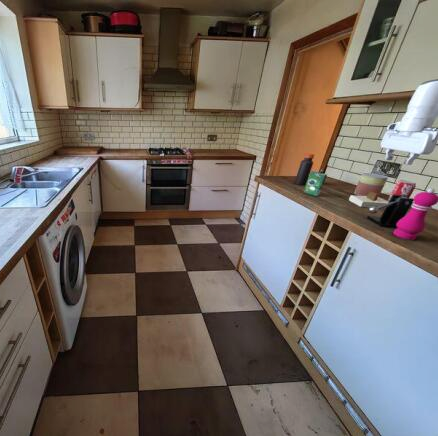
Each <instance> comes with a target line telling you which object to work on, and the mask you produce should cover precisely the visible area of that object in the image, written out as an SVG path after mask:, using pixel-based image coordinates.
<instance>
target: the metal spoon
mask: <svg viewBox="0 0 438 436" xmlns="http://www.w3.org/2000/svg"><path fill="white" fill-rule="evenodd" d="M400 198H406V197H404V196H402V197H399V198H396V199H395V201H393V202H390V203H387V204H384V205H381V206H378V207H375V206H372V207H370V208H369V207H368V208H367V209H368V210H367V212H369V214H377V213H379V210H382V209H383V208H386V207H389V206H392V205H395V204H397V203H398V201H399V200H400Z"/></svg>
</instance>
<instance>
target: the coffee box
mask: <svg viewBox="0 0 438 436" xmlns="http://www.w3.org/2000/svg"><path fill="white" fill-rule="evenodd" d="M327 176H328V174H326V173H322V172H318V171H315V170H314V171H312V170H311V171H310V174H309V177H308V180H307V183H306V185H304V186H305V187H304V189H303V193H304V194H308V195H309V196H310V195H311V196H314V197H319V196H320V194H321V191H322V189H323V186H324V183H325V182H326V179H327Z"/></svg>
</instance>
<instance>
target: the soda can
mask: <svg viewBox="0 0 438 436" xmlns="http://www.w3.org/2000/svg"><path fill="white" fill-rule="evenodd" d="M416 186H417V182H416V181H411V180H405V179H399V180H398V181H397V182H396V183H395V185H394V187H393V189H392V191H391V193H390V195H389V197H388V199H387V201H388V202H389V201H390V199H391V197H392V195H393V194H394V195H405V196H406V198H411V196H412V194H413V192H414V191H415V188H416Z"/></svg>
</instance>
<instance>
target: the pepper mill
mask: <svg viewBox="0 0 438 436" xmlns="http://www.w3.org/2000/svg"><path fill="white" fill-rule="evenodd" d="M435 191H436V190H435V188H432V187H431V188H428V189H427V190H426V191H421V192H418V193H416V194H415V195H414V197H413V199H414V201H413V203H412V204H411V206H410V208H411V209H409V211H408V212H407V213H406V215H405V216H404V217H403V218H402V219H400V220H399V221H398V222H397V224H396V226H397V228H394V230H393V235H395V237H397V238H401V239H404V240H407V241H414V240H416V238H417V237H418V234H421V233H422V232H423V231H424V229H425V220H426V219H425V218H426V215H427V213H428V212H430V211H431V210H432V209H433V206H435V205H437V204H438V195H437V194H436V193H435Z"/></svg>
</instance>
